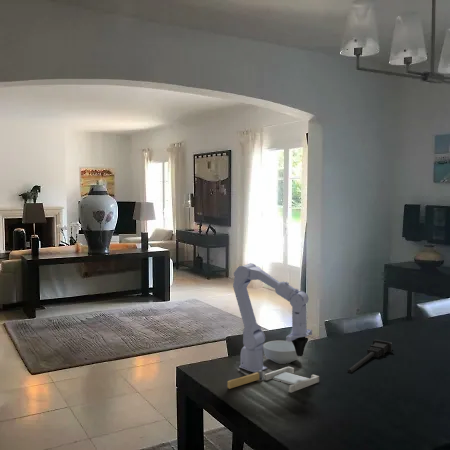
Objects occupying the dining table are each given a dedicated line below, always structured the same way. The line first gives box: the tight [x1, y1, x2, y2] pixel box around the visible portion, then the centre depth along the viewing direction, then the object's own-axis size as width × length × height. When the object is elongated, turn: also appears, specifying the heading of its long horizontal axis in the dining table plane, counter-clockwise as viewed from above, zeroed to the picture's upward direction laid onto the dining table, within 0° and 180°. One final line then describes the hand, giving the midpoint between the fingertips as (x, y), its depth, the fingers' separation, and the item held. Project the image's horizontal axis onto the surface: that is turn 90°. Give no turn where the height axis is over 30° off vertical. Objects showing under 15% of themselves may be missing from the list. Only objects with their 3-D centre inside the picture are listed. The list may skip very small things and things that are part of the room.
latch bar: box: [227, 370, 263, 390], centre depth 198 cm, size 17×2×3 cm, turn 129°
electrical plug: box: [347, 339, 393, 374], centre depth 226 cm, size 9×42×5 cm, turn 142°
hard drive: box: [272, 372, 310, 386], centre depth 202 cm, size 2×8×12 cm
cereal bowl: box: [263, 339, 300, 365], centre depth 225 cm, size 17×17×7 cm
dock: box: [256, 365, 320, 393], centre depth 201 cm, size 19×17×2 cm
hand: (299, 355), depth 206 cm, fingers closed
